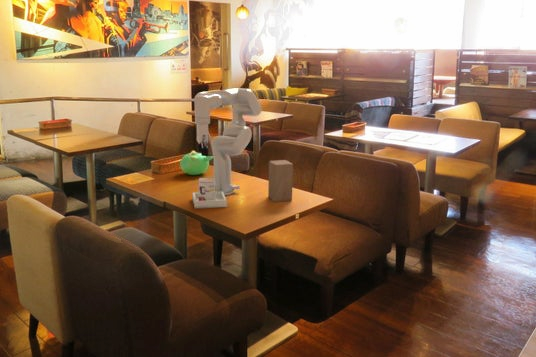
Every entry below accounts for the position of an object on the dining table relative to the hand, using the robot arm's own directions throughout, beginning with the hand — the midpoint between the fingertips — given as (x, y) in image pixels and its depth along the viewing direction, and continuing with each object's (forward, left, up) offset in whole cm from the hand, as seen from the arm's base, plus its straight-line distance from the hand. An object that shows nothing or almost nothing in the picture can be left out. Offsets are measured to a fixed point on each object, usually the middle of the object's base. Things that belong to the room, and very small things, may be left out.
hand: (203, 153), depth 256 cm
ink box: (-1, +3, -25) cm, 25 cm away
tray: (-2, +4, -25) cm, 26 cm away
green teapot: (+1, -56, -26) cm, 62 cm away
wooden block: (-40, +2, -26) cm, 48 cm away
